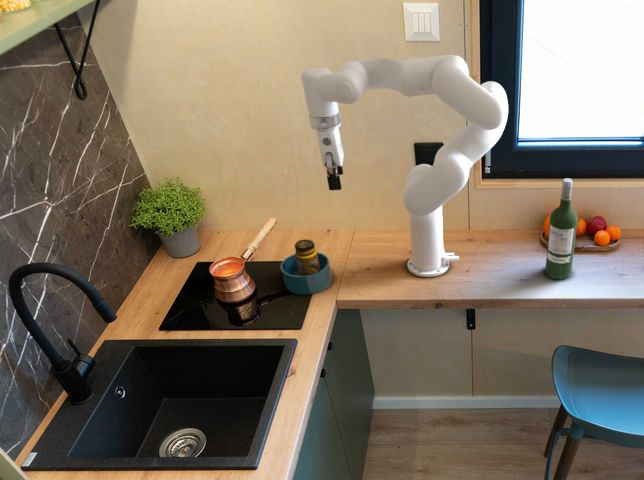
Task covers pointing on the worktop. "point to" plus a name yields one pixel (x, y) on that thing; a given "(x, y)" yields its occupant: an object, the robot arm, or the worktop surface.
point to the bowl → (308, 282)
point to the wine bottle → (562, 236)
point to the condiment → (306, 258)
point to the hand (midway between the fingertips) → (336, 181)
